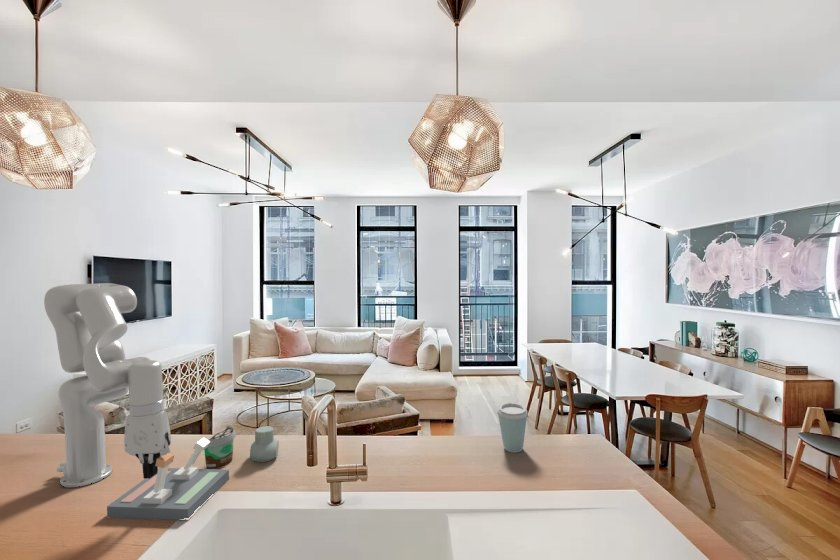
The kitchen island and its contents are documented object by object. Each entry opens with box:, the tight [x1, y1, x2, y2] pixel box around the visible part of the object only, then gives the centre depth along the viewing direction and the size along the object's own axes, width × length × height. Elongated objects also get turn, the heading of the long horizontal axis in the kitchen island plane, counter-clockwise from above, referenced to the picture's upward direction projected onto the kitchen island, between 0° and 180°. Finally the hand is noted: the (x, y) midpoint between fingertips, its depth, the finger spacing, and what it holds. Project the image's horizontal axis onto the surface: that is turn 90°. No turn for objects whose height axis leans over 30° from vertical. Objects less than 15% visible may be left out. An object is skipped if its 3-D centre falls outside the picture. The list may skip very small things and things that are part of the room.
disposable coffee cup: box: [496, 402, 528, 453], centre depth 145 cm, size 11×11×15 cm
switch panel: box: [106, 466, 230, 521], centre depth 116 cm, size 22×20×4 cm
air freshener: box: [249, 425, 280, 463], centre depth 139 cm, size 11×8×10 cm
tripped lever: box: [153, 452, 175, 493], centre depth 110 cm, size 2×4×10 cm, turn 177°
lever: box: [183, 437, 210, 471], centre depth 122 cm, size 2×4×10 cm
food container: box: [203, 425, 237, 469], centre depth 136 cm, size 12×6×10 cm, turn 168°
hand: (150, 475), depth 110 cm, fingers closed
